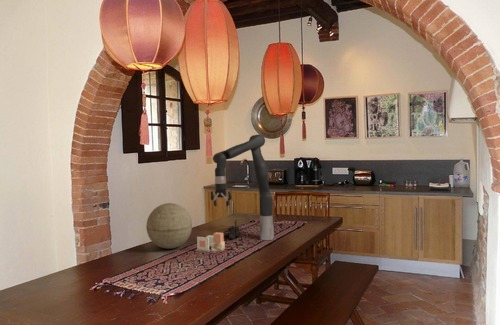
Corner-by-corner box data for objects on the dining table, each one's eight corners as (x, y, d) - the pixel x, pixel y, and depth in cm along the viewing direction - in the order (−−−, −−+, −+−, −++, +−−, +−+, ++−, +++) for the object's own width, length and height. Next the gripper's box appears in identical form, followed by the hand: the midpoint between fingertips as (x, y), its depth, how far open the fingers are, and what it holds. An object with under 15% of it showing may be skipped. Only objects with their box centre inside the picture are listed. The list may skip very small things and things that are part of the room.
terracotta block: (223, 241, 267) (223, 232, 266) (220, 243, 262) (220, 234, 262) (216, 241, 268) (216, 232, 268) (213, 243, 264) (213, 233, 263)
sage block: (215, 243, 280) (214, 235, 280) (213, 245, 275) (213, 237, 275) (207, 243, 281) (207, 235, 280) (206, 245, 276) (206, 237, 275)
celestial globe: (138, 248, 271) (136, 203, 270) (175, 240, 293) (174, 198, 291) (163, 257, 250) (162, 208, 249) (201, 247, 272) (200, 202, 270)
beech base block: (224, 248, 268) (224, 241, 268) (221, 251, 261) (221, 244, 261) (214, 248, 270) (214, 240, 269) (211, 251, 263) (211, 243, 262)
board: (210, 251, 262) (210, 237, 262) (208, 252, 259) (208, 238, 259) (197, 250, 265) (197, 236, 265) (195, 251, 262) (195, 237, 262)
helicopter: (250, 237, 319) (250, 217, 320) (246, 240, 285) (246, 218, 287) (222, 236, 321) (222, 217, 322) (214, 240, 287) (215, 218, 289)
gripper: (232, 181, 277) (233, 205, 278) (212, 182, 282) (213, 205, 283) (228, 183, 270) (229, 207, 271) (208, 183, 274) (209, 207, 275)
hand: (221, 206), depth 277 cm, fingers open, 8 cm apart
